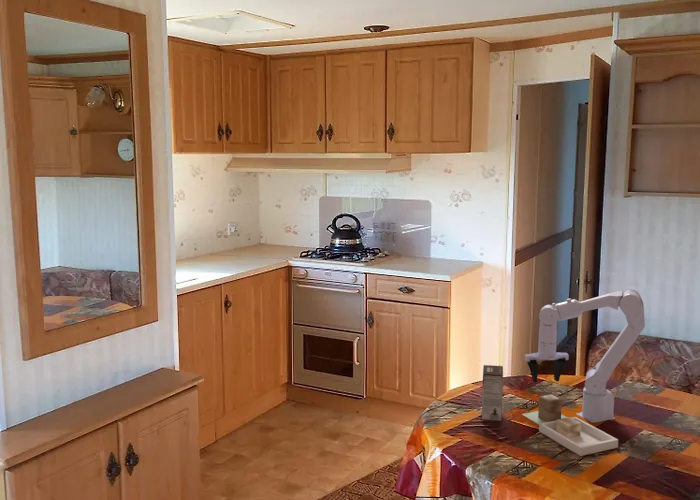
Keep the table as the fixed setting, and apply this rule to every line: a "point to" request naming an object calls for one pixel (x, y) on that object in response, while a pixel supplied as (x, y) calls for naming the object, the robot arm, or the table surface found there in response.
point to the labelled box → (549, 408)
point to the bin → (581, 438)
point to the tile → (534, 417)
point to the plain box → (568, 427)
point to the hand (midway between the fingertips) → (545, 381)
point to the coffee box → (492, 392)
